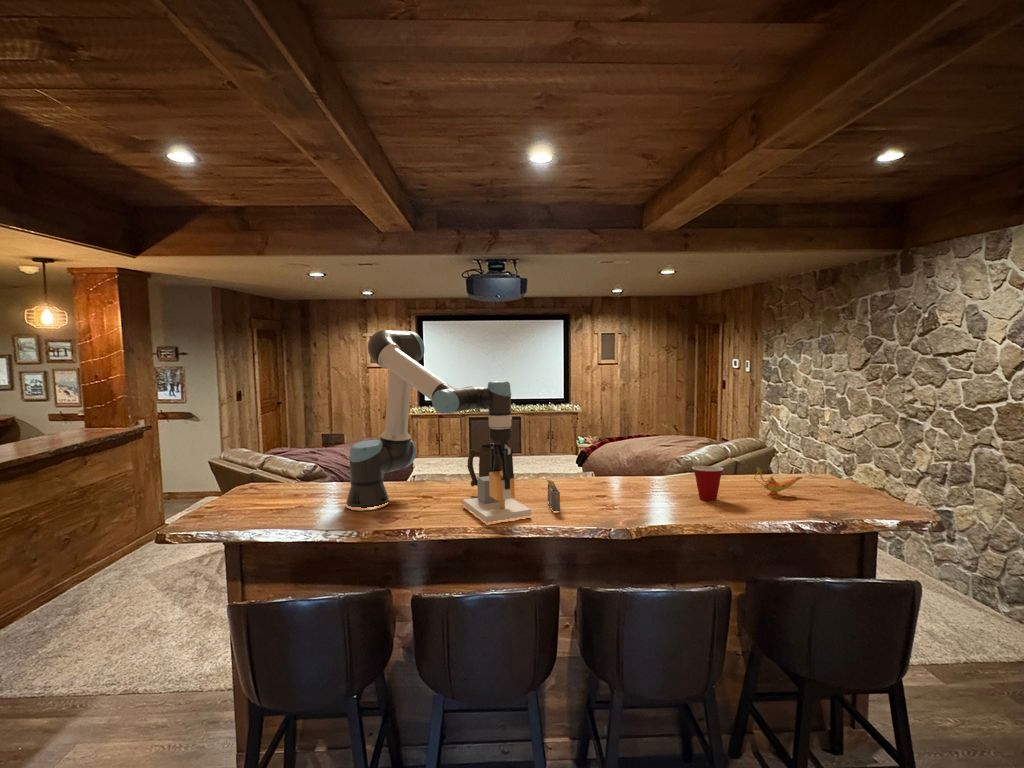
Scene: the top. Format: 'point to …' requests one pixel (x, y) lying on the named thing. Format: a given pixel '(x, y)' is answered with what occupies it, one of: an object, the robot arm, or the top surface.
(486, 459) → the beer stein
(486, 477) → the assembly base with peg
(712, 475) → the plastic cup
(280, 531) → the top surface
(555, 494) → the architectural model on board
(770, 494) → the magic lamp
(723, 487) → the top surface
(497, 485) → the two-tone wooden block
